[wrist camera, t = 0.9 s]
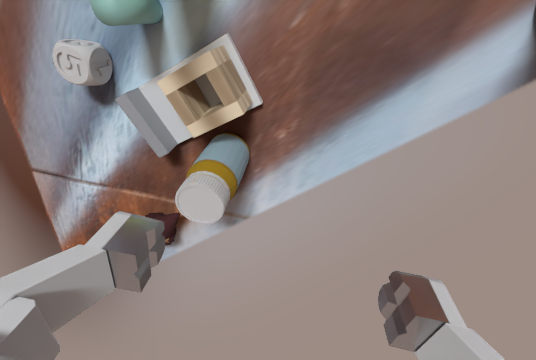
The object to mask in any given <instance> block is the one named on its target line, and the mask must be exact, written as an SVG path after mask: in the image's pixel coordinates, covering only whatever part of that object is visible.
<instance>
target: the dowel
mask: <svg viewBox="0 0 536 360" xmlns="http://www.w3.org/2000/svg"><path fill="white" fill-rule="evenodd" d="M91 5H92V9H93V11H94V13H95V15H96V17H97V18H98V19H99V20H100V21H101V22H102V23H104V24H106V25H109V26H117V25H135V24H153V23H158V22H159V21H160V20H161V18H162V15H163V10H162V6H161V4H160V2H159V1H158V0H91Z"/></svg>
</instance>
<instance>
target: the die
mask: <svg viewBox="0 0 536 360" xmlns="http://www.w3.org/2000/svg"><path fill="white" fill-rule="evenodd" d="M53 61H54V64H55V67H56V69H57V70H58V72H59V73H60V74H61V75H62V76H63V77H64V78H65V79H66V80H67V81H69V82H70V83H72V84H76V85H83V86H96V85H102V84H105V83H107V82H108V80H109V79H110V77H111V75H112V61H111V58H110V55H109V54H108V52H107V51H106V49H105V48H104V47H103V46H102V45H101V44H99V43H97V42H93V41H87V40H78V39H63V40H59V41H58V42H57V43H56V45H55V47H54V49H53Z"/></svg>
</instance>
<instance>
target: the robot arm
mask: <svg viewBox="0 0 536 360" xmlns="http://www.w3.org/2000/svg"><path fill="white" fill-rule="evenodd" d="M164 229H165V227H164V222H163V221H160V220H156V219H152V218H148V217H143V216H139V215H135V214H130V213H126V212H122V211H119V212H117V213H115V214H114V215H113V216H112V217H111V218H110V219H109V220H108V221H107V222H106V223H105V224H104V225H103V226H102V228H101V229H100V230H99V231H98V232H97V233H96V234H95V235H94V236H93V237H92V238H91V239H90V240H89V241H88V242H87V243H86V244H85V245H77V246H75V247H73V248H70V249H68V250H66V251H63V252H61V253H58V254H56V255H54V256H51V257H49V258H47V259H45V260H42V261H40V262H37V263H35V264H32V265H30V266H28V267H25V268H23V269H21V270H19V271H16V272H14V273H11V274H9V275H7V276H4V277H2V278H0V360H54V359H55V357H56V356H57V354H58V353H59V352H60V347H59V344H58V342H57V340H56V339H55V337H54V335H53V332H54V331H56V330H57V329H59V328H60V327H62V326H63V325H65V324H66V323H67V322H69V321H70V320H72V319H73V318H75V317H76V316H77V315H79V314H80V313H82V312H83V311H85V310H86V309H88V308H89V307H90V306H92V305H93V304H95V303H96V302H98V301H99V300H100V299H102V298H103V297H105V296H106V295H108V294H109V293H111V292H112V291H113V290H115V288H119V289H125V290H130V291H136V292H142V290H143V288H144V287H145V285H146V283H147V282H148V280H149V278H150V276H151V268H152V267H154V266H156V265H158V263H159V261H160V259H161V258H162V255H163V252H164V249H165V237H164V236H163V235H162V233H163V231H164ZM389 280H390V282H389V283H387V284H384V285H383V286H382V288H381V289H380V291H379V297H378V303H379V309H380V312H381V314H382V315H383V316H384V317H385V318H386V322H385V324H384V328H385V332H386V335H387V339H388V343H389V346H392V347H397V348H401V349H405V350H409V351H413V352H415V355H416V356H417V358H418V359H419V360H505V359H504V358H503V357H502V356H501V355H500V354H499V353H498V352H497V351H495V350H494V349H493V348H492V347H491V346H490V345H489V344H488V343H487V342H486V341H485V340H484V339H483V338H481V337H480V336H479V335H478V334H477V333H476V332H475V331H474V330H473V329H471V328H467V326H466V324H465V322H464V321H463V319H462V317H461V315H460V313H459V311H458V309H457V307H456V306H455V304H454V302H453V300H452V298H451V296H450V294H449V292H448V291H447V289H446V287H445V285H444V283H442V281H440V280H438V279H433V278H428V277H423V276H418V275H414V274H409V273H403V272H399V271H394V272H392V273H391V275H390V276H389Z"/></svg>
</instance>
